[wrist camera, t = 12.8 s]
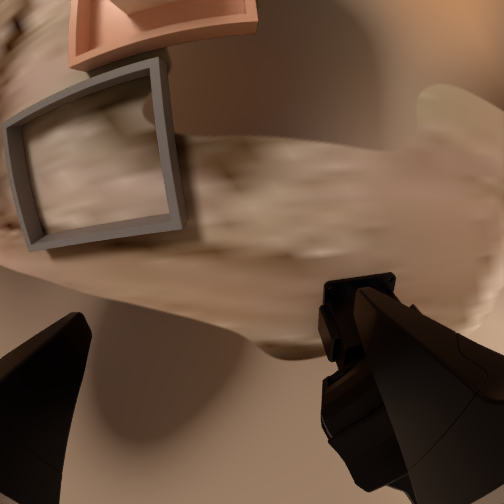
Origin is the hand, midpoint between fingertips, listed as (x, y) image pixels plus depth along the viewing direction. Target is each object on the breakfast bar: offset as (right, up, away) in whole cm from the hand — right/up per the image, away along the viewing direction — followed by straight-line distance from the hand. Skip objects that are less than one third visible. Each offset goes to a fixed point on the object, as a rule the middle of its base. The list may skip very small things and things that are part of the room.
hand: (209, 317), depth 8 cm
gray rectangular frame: (-11, +9, +9) cm, 16 cm away
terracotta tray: (-5, +21, +3) cm, 22 cm away
